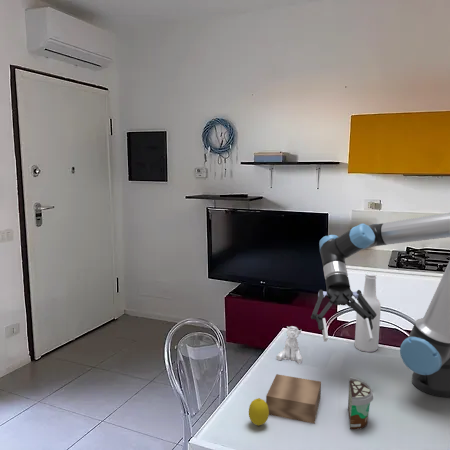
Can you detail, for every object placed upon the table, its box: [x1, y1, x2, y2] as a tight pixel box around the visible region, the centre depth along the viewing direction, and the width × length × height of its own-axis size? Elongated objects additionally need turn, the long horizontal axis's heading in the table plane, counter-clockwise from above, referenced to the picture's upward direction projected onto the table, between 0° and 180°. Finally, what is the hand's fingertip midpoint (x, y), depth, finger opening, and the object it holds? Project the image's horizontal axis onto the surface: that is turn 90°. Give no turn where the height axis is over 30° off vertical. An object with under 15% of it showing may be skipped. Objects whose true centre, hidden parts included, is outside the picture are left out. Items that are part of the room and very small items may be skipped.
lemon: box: [248, 397, 270, 426], centre depth 125 cm, size 6×6×8 cm
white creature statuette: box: [275, 325, 303, 365], centre depth 168 cm, size 10×9×12 cm
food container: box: [347, 377, 374, 431], centre depth 128 cm, size 12×6×10 cm, turn 168°
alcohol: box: [354, 272, 382, 353], centre depth 176 cm, size 9×9×30 cm
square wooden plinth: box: [265, 373, 322, 424], centre depth 136 cm, size 14×14×6 cm
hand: (348, 340), depth 138 cm, fingers open, 13 cm apart
